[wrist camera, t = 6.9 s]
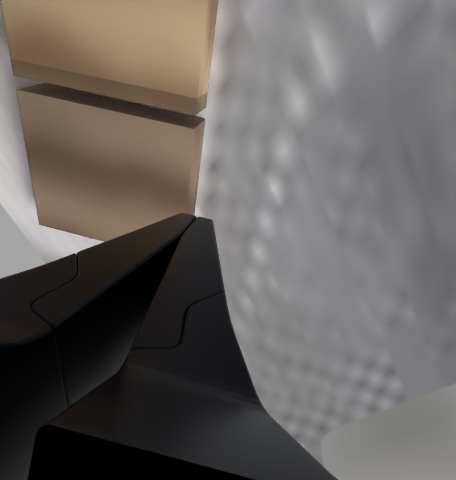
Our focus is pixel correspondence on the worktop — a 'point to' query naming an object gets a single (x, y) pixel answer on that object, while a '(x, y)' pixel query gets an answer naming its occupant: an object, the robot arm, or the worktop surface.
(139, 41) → the tan rectangular slab
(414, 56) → the worktop surface
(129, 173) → the tan flat block
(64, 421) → the robot arm
